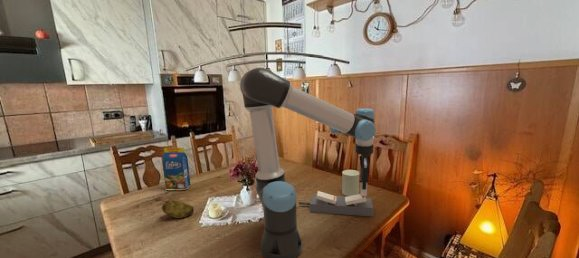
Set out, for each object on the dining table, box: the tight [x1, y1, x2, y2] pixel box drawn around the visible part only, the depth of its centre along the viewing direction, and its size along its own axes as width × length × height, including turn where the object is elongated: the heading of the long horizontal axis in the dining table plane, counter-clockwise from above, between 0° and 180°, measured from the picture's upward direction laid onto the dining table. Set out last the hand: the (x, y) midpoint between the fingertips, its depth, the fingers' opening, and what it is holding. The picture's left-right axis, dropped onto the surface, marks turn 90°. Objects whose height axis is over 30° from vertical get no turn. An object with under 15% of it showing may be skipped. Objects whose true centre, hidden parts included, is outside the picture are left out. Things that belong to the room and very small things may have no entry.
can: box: [341, 169, 360, 197], centre depth 134 cm, size 9×9×12 cm
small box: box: [344, 193, 367, 205], centre depth 113 cm, size 9×5×2 cm, turn 78°
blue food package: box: [162, 147, 191, 190], centre depth 145 cm, size 6×12×25 cm, turn 86°
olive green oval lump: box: [161, 199, 195, 219], centre depth 115 cm, size 8×13×8 cm, turn 81°
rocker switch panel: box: [298, 194, 374, 217], centre depth 118 cm, size 34×10×5 cm, turn 79°
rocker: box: [316, 190, 338, 204], centre depth 116 cm, size 9×5×2 cm, turn 79°
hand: (363, 194), depth 112 cm, fingers closed
